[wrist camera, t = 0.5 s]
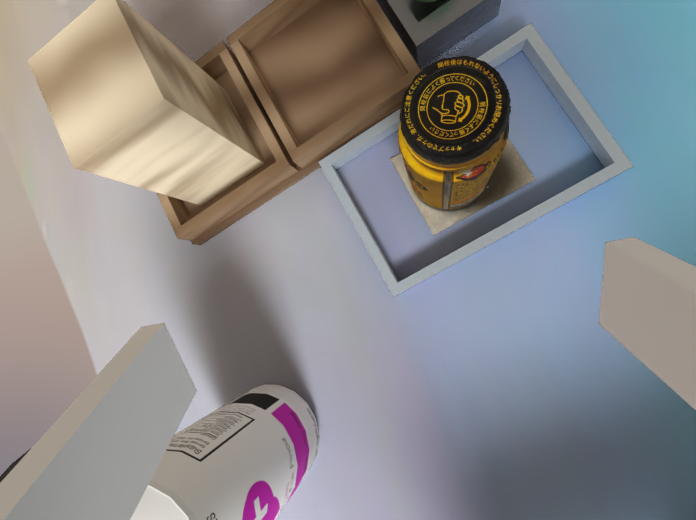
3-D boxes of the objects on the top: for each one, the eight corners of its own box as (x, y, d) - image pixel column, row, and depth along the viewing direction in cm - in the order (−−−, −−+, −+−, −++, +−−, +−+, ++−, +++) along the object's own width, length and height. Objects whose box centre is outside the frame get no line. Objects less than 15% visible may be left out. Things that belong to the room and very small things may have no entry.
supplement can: (338, 414, 30) (245, 541, 16) (294, 498, 31) (167, 694, 17) (259, 364, 32) (113, 435, 18) (220, 444, 33) (47, 576, 18)
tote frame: (622, 171, 26) (633, 165, 25) (395, 295, 30) (393, 296, 28) (526, 35, 28) (530, 22, 27) (323, 167, 32) (318, 161, 30)
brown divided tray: (428, 96, 30) (427, 75, 27) (200, 244, 34) (176, 241, 31) (352, -24, 32) (343, -56, 29) (146, 131, 36) (119, 118, 33)
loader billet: (264, 163, 32) (163, 98, 20) (202, 205, 33) (73, 167, 21) (225, 90, 33) (109, -12, 21) (167, 133, 34) (27, 60, 23)
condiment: (390, 159, 30) (360, 87, 19) (485, 102, 29) (516, -16, 17) (433, 235, 29) (430, 209, 18) (534, 180, 28) (604, 111, 16)
